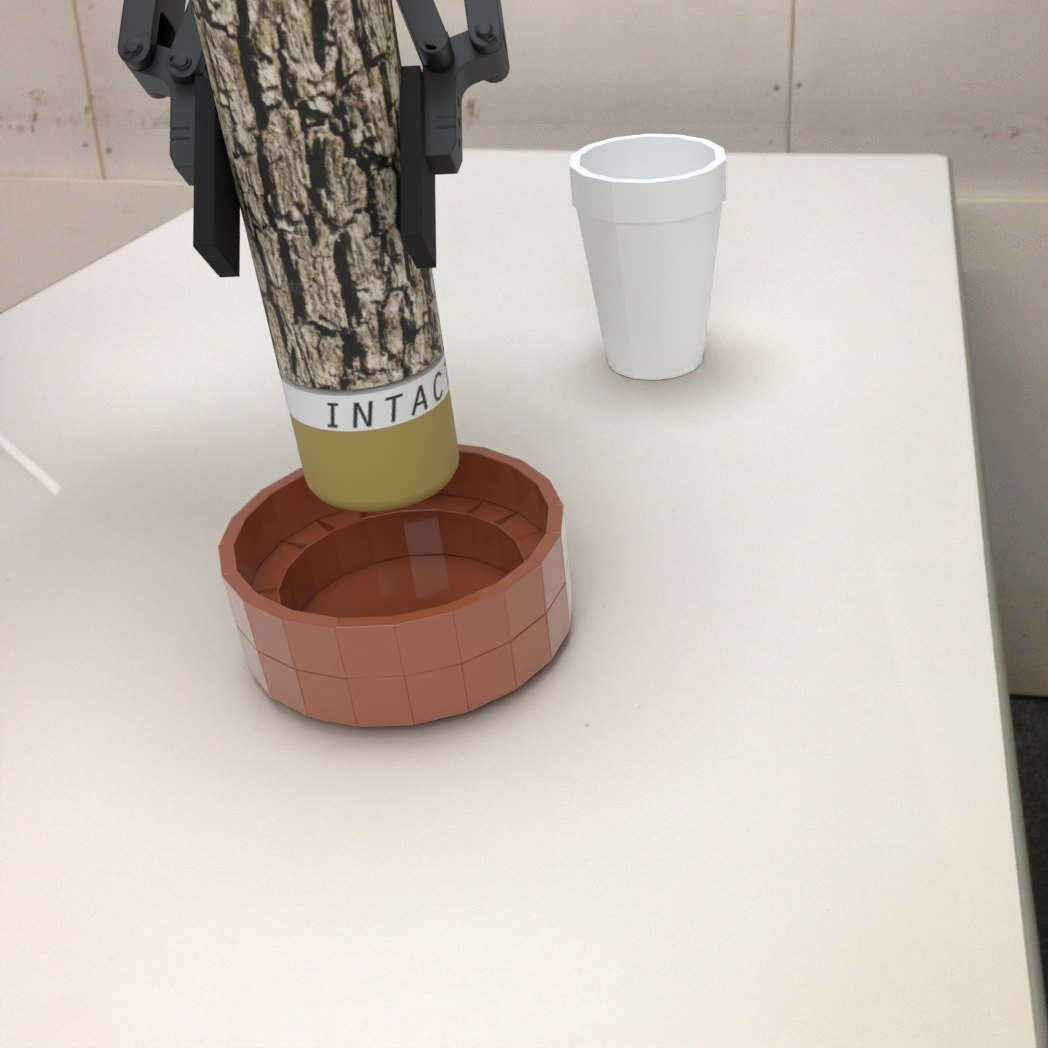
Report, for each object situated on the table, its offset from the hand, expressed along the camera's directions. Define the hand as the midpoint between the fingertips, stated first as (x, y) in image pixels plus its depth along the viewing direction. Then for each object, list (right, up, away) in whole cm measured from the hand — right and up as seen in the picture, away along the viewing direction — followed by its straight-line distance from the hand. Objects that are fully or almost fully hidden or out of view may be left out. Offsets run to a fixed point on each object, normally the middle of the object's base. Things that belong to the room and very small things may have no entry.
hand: (318, 256), depth 47 cm
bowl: (+1, -14, +15) cm, 20 cm away
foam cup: (+13, +4, +38) cm, 40 cm away
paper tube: (+1, -7, +10) cm, 12 cm away
